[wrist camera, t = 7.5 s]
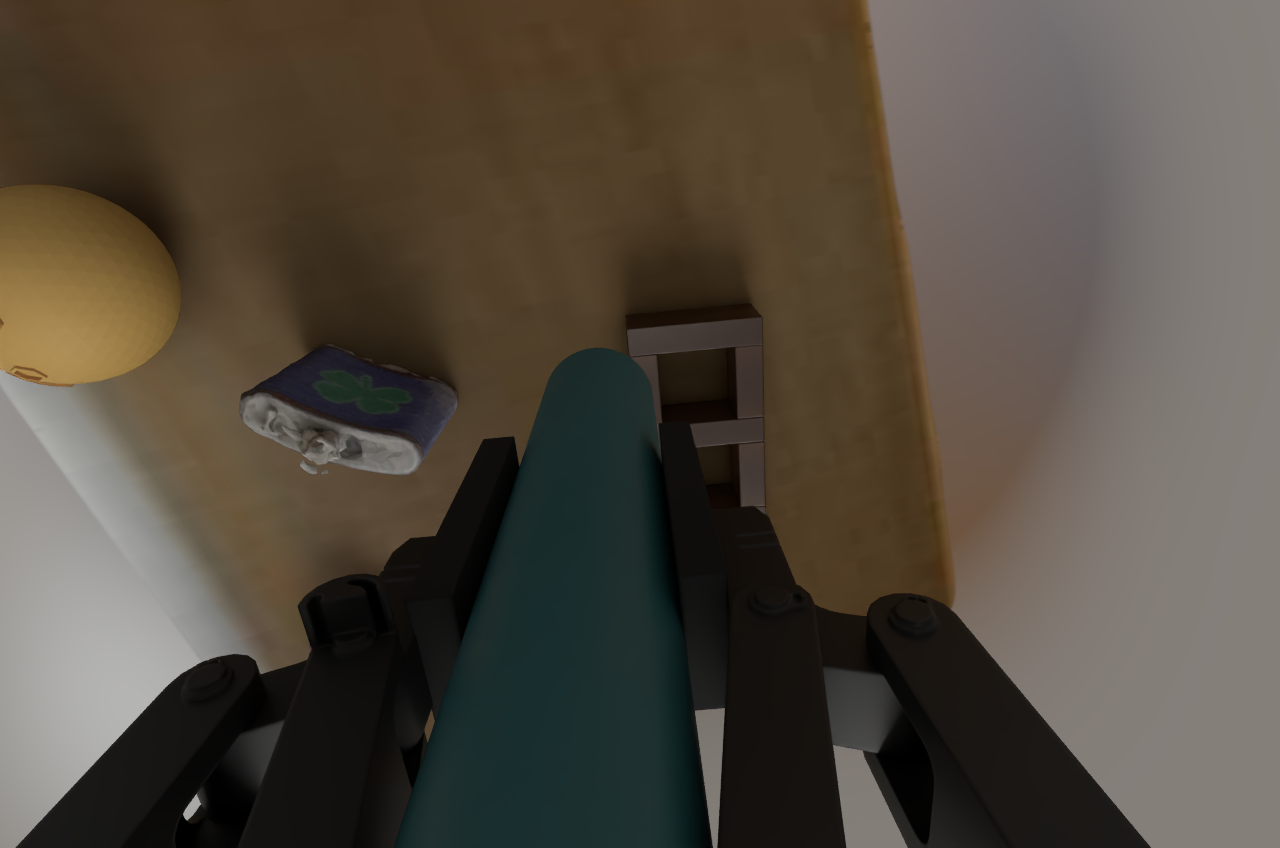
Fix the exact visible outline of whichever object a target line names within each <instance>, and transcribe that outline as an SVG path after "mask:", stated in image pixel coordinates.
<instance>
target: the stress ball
mask: <svg viewBox="0 0 1280 848" xmlns="http://www.w3.org/2000/svg"><path fill="white" fill-rule="evenodd" d="M180 308H181V286H180V279H179V276H178V273H177V270H176V267H175V264H174V262H173V260H172V258H171V256H170V254H169V253H168V251H167V249H166V248H165V246H164V245H163V243H162V242H161V241H160V240H159V238H158V237H157V236H156V235H155V234H154V233H153V232H152V231H151V230H150V229H149V228H148V227H147V226H146V225H145V224H144V223H143V222H142V221H140V220H139V219H138V218H137V217H135V216H134V215H132V214H131V213H129V212H128V211H126V210H125V209H123V208H122V207H120V206H118V205H116V204H114V203H112V202H110V201H108V200H106V199H104V198H101V197H99V196H96V195H94V194H91V193H89V192H85V191H81V190H77V189H73V188H68V187H62V186H57V185H43V184H29V185H16V186H10V187H4V188H0V369H1V370H4V371H6V373H8V374H11V375H13V376H15V377H18V378H20V379H23V380H26V381H30V382H34V383H37V384H42V385H50V386H67V387H72V386H73V385H74V384H78V383H90V382H96V381H102V380H106V379H109V378H113V377H116V376H119V375H121V374H124V373H126V372H129V371H131V370H133V369H135V368H136V367H138V366H140V365H142V364H143V363H145V362H146V361H147V360H149V359H150V358H151V357H153V356H154V355H155V354H156V353H157V352H158V351H159V350H160V349H161V348H162V347H163V346H164V344H165V343H166V342H167V340H168V339H169V337H170V336H171V334H172V332H173V330H174V329H175V326H176V323H177V321H178V318H179V314H180Z"/></svg>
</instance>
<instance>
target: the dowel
mask: <svg viewBox="0 0 1280 848" xmlns="http://www.w3.org/2000/svg"><path fill="white" fill-rule="evenodd" d="M393 848H713V845H712V839H711V830H710V823H709V816H708V808H707V800H706V793H705V785H704V777H703V770H702V763H701V755H700V747H699V740H698V732H697V725H696V717H695V709H694V702H693V694H692V687H691V679H690V672H689V664H688V657H687V649H686V642H685V636H684V632H683V625H682V617H681V609H680V601H679V594H678V586H677V578H676V570H675V563H674V555H673V547H672V539H671V532H670V524H669V516H668V508H667V500H666V493H665V485H664V477H663V469H662V460H661V453H660V445H659V438H658V430H657V423H656V415H655V408H654V400H653V393H652V388H651V384H650V382H649V379H648V377H647V375H646V374H645V372H644V371H643V369H642V368H641V367H640V366H639V365H638V364H637V363H636V362H635V361H634V360H633V359H631V358H630V357H628V356H627V355H625V354H623V353H620V352H618V351H615V350H611V349H605V348H591V349H585V350H582V351H579V352H576V353H574V354H572V355H570V356H569V357H567V358H566V359H564V360H563V361H562V362H561V363H560V364H559V365H558V366H557V367H556V368H555V370H554V371H553V372H552V374H551V376H550V378H549V380H548V383H547V386H546V389H545V392H544V395H543V398H542V401H541V404H540V407H539V410H538V413H537V416H536V419H535V422H534V425H533V428H532V431H531V434H530V437H529V440H528V443H527V446H526V449H525V452H524V455H523V458H522V461H521V464H520V467H519V470H518V473H517V476H516V479H515V482H514V485H513V488H512V491H511V494H510V497H509V500H508V503H507V506H506V509H505V512H504V515H503V518H502V521H501V524H500V527H499V530H498V533H497V536H496V539H495V542H494V546H493V549H492V552H491V555H490V558H489V561H488V564H487V567H486V570H485V573H484V576H483V579H482V582H481V585H480V588H479V591H478V594H477V597H476V600H475V603H474V606H473V609H472V612H471V615H470V618H469V621H468V624H467V627H466V630H465V633H464V636H463V639H462V642H461V645H460V648H459V651H458V654H457V657H456V660H455V663H454V666H453V669H452V672H451V675H450V678H449V681H448V684H447V687H446V690H445V693H444V696H443V699H442V702H441V705H440V708H439V711H438V714H437V717H436V720H435V723H434V726H433V729H432V732H431V735H430V738H429V741H428V744H427V747H426V750H425V753H424V756H423V759H422V762H421V765H420V768H419V771H418V774H417V777H416V781H415V784H414V787H413V790H412V793H411V796H410V799H409V802H408V805H407V808H406V811H405V814H404V817H403V820H402V823H401V826H400V829H399V832H398V835H397V838H396V841H395V844H394V847H393Z"/></svg>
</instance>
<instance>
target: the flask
mask: <svg viewBox="0 0 1280 848" xmlns="http://www.w3.org/2000/svg"><path fill="white" fill-rule="evenodd" d="M313 349H314V351H312V352H310V353H309V354H307V355H306V356H304V357H303V358H302V359H300V360H298V361H296V362H294V363H292V364H290V365H289V366H288V367H286V368H285V369H283V370H282V371H281V372H279V373H278V374H276V375H274V376H272V377H270V378H268V379H267V380H265V381H263V382H261V383H260V384H258V385H257V386H256V387H254V388H253V389H251V390H249V391H247V392H244V393H242V395H241V401H240V410H239V411H240V415H241V418H242V420H243V423H244V424H245V425H247V426H248V427H249V428H250V429H251V430H253V431H254V432H256V433H258V434H260V435H263V436H265V437H268V438H270V439H272V440H274V441H276V442H277V443H279V444H281V445H283V446H286V447H288V448H290V449H292V450H295V451H297V452H300V453H302V454H303V456H305V457H306V458H307V459H308V460H309V461H314V462H315V463H316V464H317V465H320V464H326V463H327V462H329V463H332V464H338V465H341V466H344V467H351V468H354V469H360V470H367V471H373V472H377V473H383V474H394V475H408V474H411V473H413V472H415V471H416V470H417V469H418V467H419V466H420V464H421V463H422V462H423V460H424V458H425V457H426V455H427V453H428V451H429V450H430V448H431V447H432V445H433V444H434V442H435V440H436V439H437V438H438V436H439V434H440V433H441V431H442V430H443V428H444V426H445V425H446V423H447V422H448V420H449V419H450V417H451V416H452V414H453V413H454V412H455V410H456V408H457V405H458V397H457V392H456V391H455V390H454V389H453V388H452V387H451V386H449V385H448V384H446V383H445V382H443V381H440V380H439V379H436V378H435V377H431V376H430V377H429V378H426V377H422V376H419V375H417V374H416V375H415V374H414V373H413V372H412V373H411V372H409V370H407V369H403V368H401V367H400V366H394V365H392V364H390V365H388V364H387V365H385V364H384V365H379V364H376V363H374V362H373V360H372V358H370V359H368V358H360V357H357V356H356V355H355V354H353V353H352V351H351V352H349V351H346V350H344V349H342V348H339V347H336V346H334V345H332V344H328V345H323V346H320V347H319V348H313ZM300 467H301V468H303V469H304V470H305V471H307V472H308V473H310V474H315V473H318V471H317V469H316V467H315V466H312V465H309V464H307V463H306V462H305V461H304V460H303V461H302V462H301V463H300ZM327 473H328V471H327V470H323V471H322V474H327Z"/></svg>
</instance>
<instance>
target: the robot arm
mask: <svg viewBox="0 0 1280 848" xmlns="http://www.w3.org/2000/svg"><path fill="white" fill-rule="evenodd" d="M658 424H659V436H660V448H661V460H662V469H663V477H664V485H665V493H666V500H667V508H668V516H669V524H670V532H671V539H672V547H673V555H674V563H675V570H676V578H677V586H678V594H679V601H680V609H681V617H682V625H683V632H684V636H685V642H686V649H687V657H688V664H689V672H690V679H691V687H692V694H693V702H694V709H695V710H706V709H718V708H725V717H724V735H723V755H722V773H721V792H720V810H719V829H718V847H717V848H846V842H845V835H844V827H843V819H842V812H841V804H840V796H839V789H838V781H837V773H836V765H835V758H834V751H833V745H836V746H841V747H846V748H852V749H857V750H863V753H864V757H865V759H866V761H867V763H868V765H869V767H870V769H871V772H872V774H873V776H874V778H875V780H876V782H877V784H878V786H879V788H880V790H881V792H882V795H883V797H884V799H885V801H886V803H887V805H888V807H889V809H890V811H891V813H892V815H893V817H894V820H895V822H896V824H897V826H898V828H899V830H900V832H901V834H902V836H903V838H904V840H905V843H906V845H907V847H908V848H1151V847H1150V846H1149V845H1148V844H1147V842H1146V841H1145V840H1144V839H1143V838H1142V836H1141V835H1140V834H1139V833H1138V832H1137V830H1136V829H1135V828H1134V827H1133V826H1132V824H1131V823H1130V822H1129V821H1128V820H1127V818H1125V816H1124V815H1123V814H1122V812H1121V811H1120V810H1119V809H1118V808H1117V806H1116V805H1115V804H1114V803H1113V802H1112V800H1111V799H1110V798H1109V797H1108V796H1107V794H1106V793H1105V792H1104V791H1103V790H1102V788H1101V787H1100V786H1099V785H1098V784H1097V782H1096V781H1095V780H1094V779H1093V778H1092V776H1091V775H1090V774H1089V773H1088V772H1087V770H1086V769H1085V768H1084V767H1083V766H1082V765H1081V763H1080V762H1079V761H1078V760H1077V758H1076V757H1075V756H1074V755H1073V754H1072V752H1071V751H1070V750H1069V749H1068V748H1067V746H1066V745H1065V744H1064V743H1063V742H1062V741H1061V739H1060V738H1059V737H1058V736H1057V734H1056V733H1055V732H1054V731H1053V730H1052V729H1051V727H1050V726H1049V725H1048V724H1047V723H1046V721H1045V720H1044V719H1043V718H1042V717H1041V715H1040V714H1039V713H1038V712H1037V711H1036V709H1035V708H1034V707H1033V706H1032V705H1031V703H1030V702H1029V701H1028V700H1027V699H1026V697H1024V695H1023V694H1022V693H1021V691H1020V690H1019V689H1018V688H1017V687H1016V685H1015V684H1014V683H1013V682H1012V681H1011V679H1010V678H1009V677H1008V676H1007V675H1006V673H1005V672H1004V671H1003V670H1002V669H1001V667H999V665H998V664H997V663H996V661H995V660H994V659H993V658H992V657H991V656H990V654H989V653H988V652H987V651H986V649H985V648H984V647H983V646H982V645H981V643H980V642H979V641H978V640H977V639H976V637H975V636H974V635H973V634H972V633H971V631H970V630H969V629H968V628H967V627H966V626H965V624H964V623H963V622H962V621H961V619H960V618H959V617H958V616H957V615H956V614H955V613H954V612H953V611H952V610H951V609H949V608H948V607H947V606H946V605H945V604H943V603H940V602H938V601H936V600H934V599H932V598H929V597H926V596H921V595H916V594H911V593H900V594H891V595H887V596H883V597H880V598H879V599H877V600H876V601H874V602H873V603H872V604H870V607H869V610H868V612H867V617H866V616H858V615H850V614H843V613H838V612H833V611H829V610H827V609H824V608H821V607H819V606H817V605H815V604H814V602H813V599H812V597H811V595H810V594H809V593H808V592H807V591H806V590H804V589H803V588H802V587H801V586H799V585H796V582H795V580H794V578H793V575H792V573H791V570H790V568H789V565H788V563H787V560H786V558H785V555H784V553H783V551H782V548H781V546H780V545H779V541H778V538H777V536H776V534H775V531H774V529H773V526H772V524H771V521H770V519H769V517H768V516H767V515H765V514H764V513H763V512H761V511H760V510H759V509H758V508H756V507H755V506H745V507H734V508H723V509H711V505H710V501H709V497H708V493H707V489H706V485H705V481H704V477H703V473H702V469H701V466H700V462H699V458H698V454H697V450H696V446H695V442H694V438H693V434H692V430H691V426H690V422H689V421H678V422H667V423H658ZM518 470H519V463H518V457H517V451H516V445H515V439H514V436H513V437H502V438H491V439H483V441H482V443H481V445H480V447H479V449H478V451H477V453H476V455H475V458H474V460H473V462H472V464H471V466H470V468H469V470H468V472H467V474H466V476H465V478H464V480H463V482H462V484H461V486H460V488H459V490H458V492H457V494H456V496H455V498H454V500H453V502H452V504H451V506H450V508H449V510H448V512H447V514H446V516H445V518H444V520H443V522H442V524H441V526H440V528H439V530H438V532H437V534H436V536H430V537H419V538H410V539H409V540H408V541H406V542H405V543H404V544H403V545H401V546H400V547H399V548H398V549H396V550H395V551H394V552H393V553H392V555H391V556H390V558H389V560H388V561H387V563H386V565H385V567H384V571H382V572H381V573H380V575H379V577H378V576H376V575H370V574H353V575H347V576H344V577H340V578H336V579H333V580H331V581H329V582H327V583H324V584H322V585H320V586H318V587H317V588H315V589H314V590H312V591H311V592H310V593H308V594H307V595H306V596H305V597H304V598H303V599H302V601H301V602H300V603H299V605H298V609H299V612H300V615H301V618H302V621H303V624H304V627H305V630H306V633H307V636H308V640H309V643H310V646H311V652H310V654H309V657H308V660H305V661H303V662H300V663H297V664H294V665H291V666H287V667H284V668H281V669H277V670H274V671H270V672H267V673H264V674H260V672H259V669H258V666H257V664H256V661H255V660H253V659H252V658H251V657H249V656H248V655H239V654H232V655H226V656H220V657H216V658H212V659H209V660H208V661H207V660H206V661H204V662H201V663H199V664H197V665H196V666H194V667H193V668H191V669H189V670H187V671H186V672H184V673H182V674H181V675H180V676H178V677H177V678H176V679H175V680H174V681H172V682H171V683H170V684H169V685H168V686H167V687H166V688H165V689H164V690H163V691H162V692H161V693H160V694H159V695H158V696H157V697H156V698H155V700H154V701H153V702H152V703H151V704H150V705H149V706H148V707H147V708H146V709H145V710H144V711H143V713H142V714H140V716H139V717H138V718H137V719H136V720H135V721H134V722H133V723H132V724H131V725H130V726H129V727H128V728H127V729H126V730H125V732H124V733H123V734H122V735H121V736H120V737H119V738H118V739H117V740H116V741H115V742H114V743H113V744H112V745H111V746H110V748H109V749H108V750H107V751H106V752H105V753H104V754H103V755H102V756H101V757H100V758H99V759H98V760H97V761H96V762H95V764H94V765H93V766H92V767H91V768H90V769H89V770H88V771H87V772H86V773H85V774H84V775H83V776H82V777H81V778H80V780H79V781H78V782H77V783H76V784H75V785H74V786H73V787H72V788H71V789H70V790H69V791H68V792H67V793H66V794H65V795H64V797H63V798H62V799H61V800H60V801H59V802H58V803H57V804H56V805H55V806H54V807H53V808H52V809H51V810H50V811H49V813H48V814H47V815H46V816H45V817H44V818H43V819H42V820H41V821H40V822H39V823H38V824H37V825H36V826H35V828H34V829H33V830H32V831H31V832H30V833H29V834H28V835H27V836H26V837H25V838H24V839H23V840H22V841H21V842H20V843H19V845H18V846H17V847H16V848H393V847H394V844H395V841H396V838H397V835H398V832H399V829H400V826H401V823H402V820H403V817H404V814H405V811H406V808H407V805H408V802H409V799H410V796H411V793H412V790H413V787H414V784H415V781H416V777H417V774H418V771H419V768H420V765H421V762H422V759H423V756H424V753H425V750H426V747H427V744H428V743H427V739H426V735H425V731H424V729H425V726H426V723H427V720H428V717H429V714H430V711H431V708H432V712H433V716H434V719H435V720H436V717H437V714H438V711H439V708H440V705H441V702H442V699H443V696H444V693H445V690H446V687H447V684H448V681H449V678H450V675H451V672H452V669H453V666H454V663H455V660H456V657H457V654H458V651H459V648H460V645H461V642H462V639H463V636H464V633H465V630H466V627H467V624H468V621H469V618H470V615H471V612H472V609H473V606H474V603H475V600H476V597H477V594H478V591H479V588H480V585H481V582H482V579H483V576H484V573H485V570H486V567H487V564H488V561H489V558H490V555H491V552H492V549H493V546H494V542H495V539H496V536H497V533H498V530H499V527H500V524H501V521H502V518H503V515H504V512H505V509H506V506H507V503H508V500H509V497H510V494H511V491H512V488H513V485H514V482H515V479H516V476H517V473H518ZM196 794H197V796H198V798H199V800H200V803H201V805H200V806H199V808H198V809H197V811H196V812H195V813H194V815H193V816H192V817H191V818H190V819H189V820H188V821H187V820H186V819H185V818H184V816H183V813H184V811H185V809H186V807H187V806H188V804H189V803H190V802H191V801H192V799H193V798H194V796H195V795H196Z"/></svg>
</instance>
